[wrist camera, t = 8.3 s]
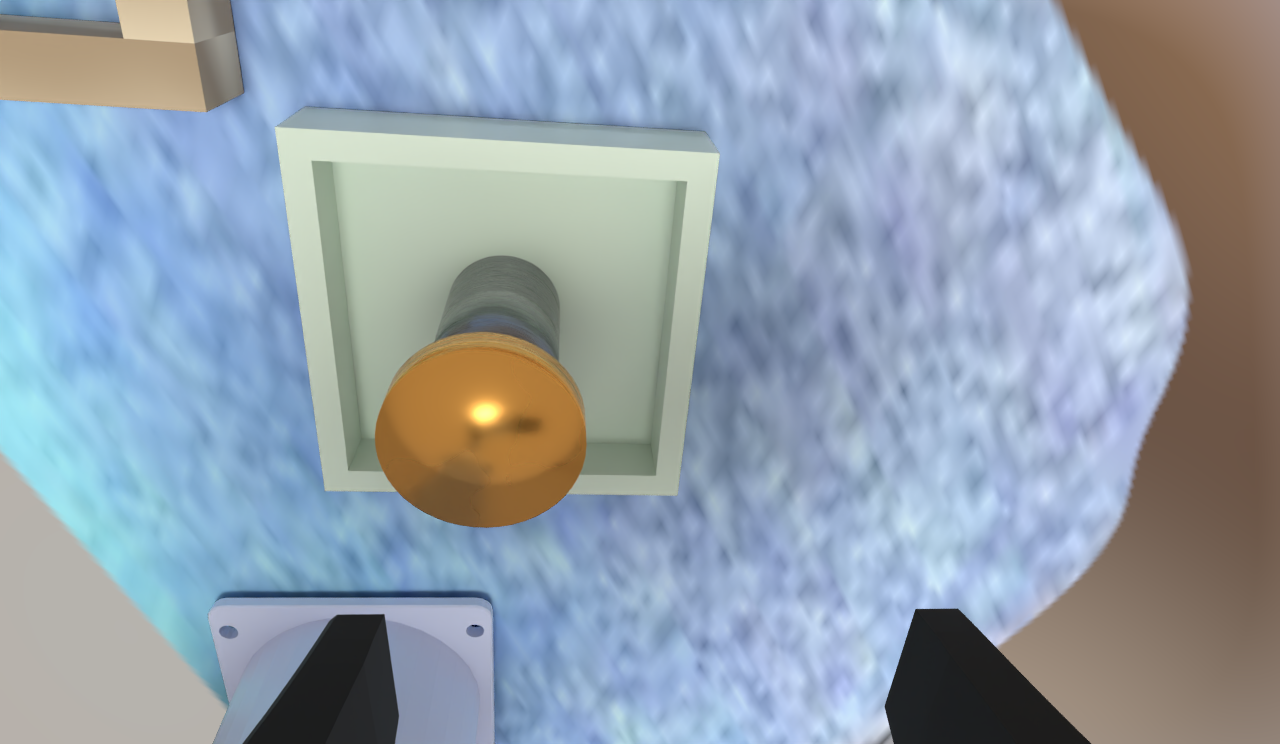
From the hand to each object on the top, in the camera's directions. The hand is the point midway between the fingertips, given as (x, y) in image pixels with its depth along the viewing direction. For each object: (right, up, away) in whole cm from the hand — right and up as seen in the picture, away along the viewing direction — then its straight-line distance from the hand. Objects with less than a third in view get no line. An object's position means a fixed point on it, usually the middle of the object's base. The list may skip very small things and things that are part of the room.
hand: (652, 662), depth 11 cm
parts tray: (-3, +6, +8) cm, 11 cm away
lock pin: (-3, +5, +8) cm, 10 cm away
